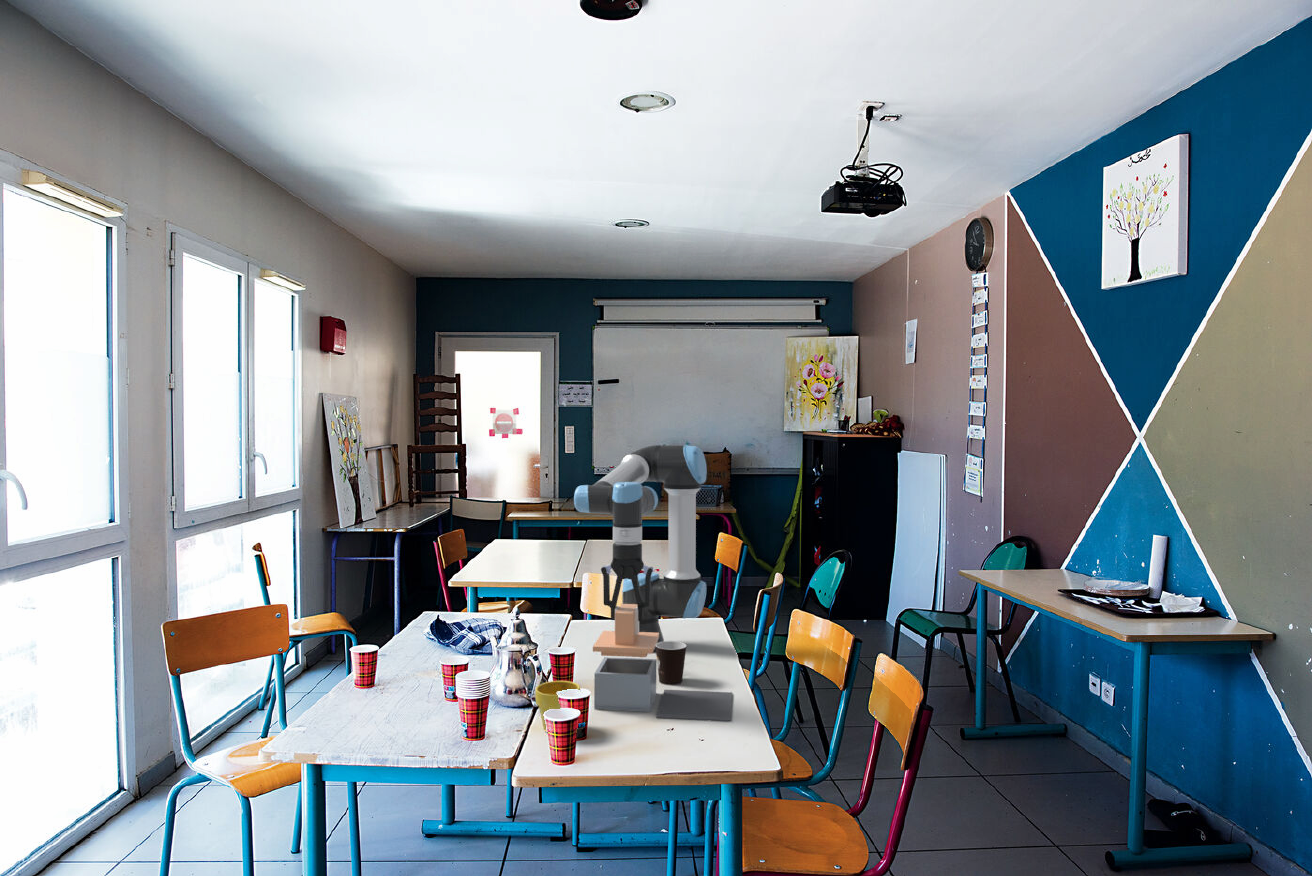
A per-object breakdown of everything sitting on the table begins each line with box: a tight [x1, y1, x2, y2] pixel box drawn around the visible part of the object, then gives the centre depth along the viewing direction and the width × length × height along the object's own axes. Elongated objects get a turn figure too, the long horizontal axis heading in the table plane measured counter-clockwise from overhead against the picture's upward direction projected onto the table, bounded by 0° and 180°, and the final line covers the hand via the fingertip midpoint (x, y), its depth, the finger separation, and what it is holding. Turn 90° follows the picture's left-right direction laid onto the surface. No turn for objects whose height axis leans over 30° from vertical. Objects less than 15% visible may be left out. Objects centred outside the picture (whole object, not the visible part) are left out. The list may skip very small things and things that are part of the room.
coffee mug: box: [655, 640, 687, 686], centre depth 224 cm, size 12×9×10 cm
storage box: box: [593, 656, 657, 713], centre depth 206 cm, size 14×14×9 cm
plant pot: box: [535, 680, 581, 730], centre depth 187 cm, size 10×10×10 cm
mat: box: [655, 689, 733, 722], centre depth 204 cm, size 20×18×1 cm
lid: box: [592, 603, 659, 658], centre depth 206 cm, size 15×15×11 cm
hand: (627, 632), depth 207 cm, fingers closed on lid, 4 cm apart
